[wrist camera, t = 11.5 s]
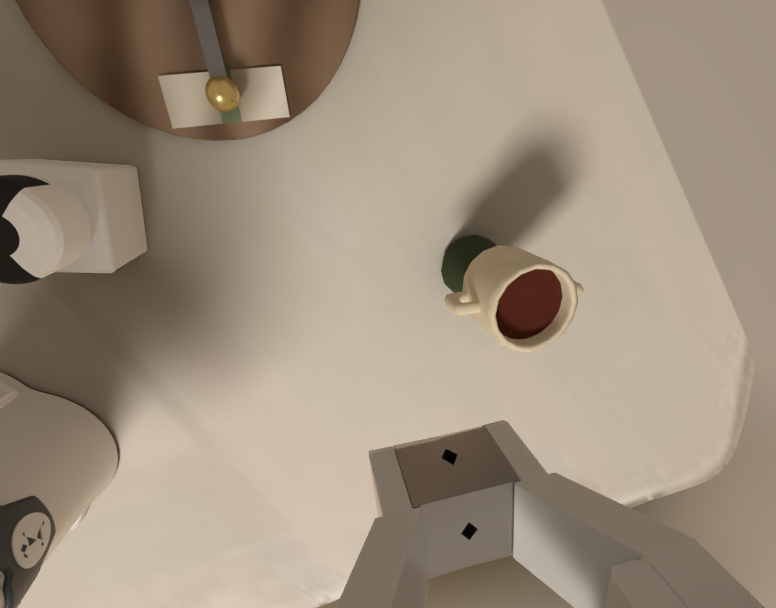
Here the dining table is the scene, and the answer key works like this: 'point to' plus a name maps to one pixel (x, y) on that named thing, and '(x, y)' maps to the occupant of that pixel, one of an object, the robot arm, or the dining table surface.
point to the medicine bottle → (67, 218)
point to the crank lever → (214, 60)
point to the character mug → (509, 292)
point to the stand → (198, 57)
